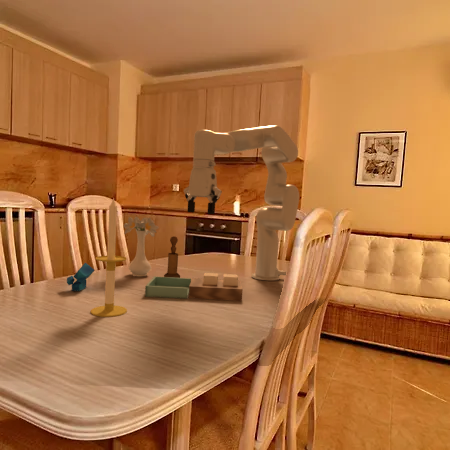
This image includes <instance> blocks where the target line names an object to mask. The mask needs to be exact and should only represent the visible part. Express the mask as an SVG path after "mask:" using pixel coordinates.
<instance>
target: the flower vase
mask: <svg viewBox="0 0 450 450" xmlns="http://www.w3.org/2000/svg"><path fill="white" fill-rule="evenodd" d="M127 222H128V223H127ZM127 222H126V223H123V228H124V229H125V231H124V233H123V234H124V235H126V234H127V233H131V231H132V230H133V229H135V232H136V235H137V238H136V239H137V243H136V254H135V255H134V256H135V257H134V258H133V259H132V260H131V262H130V263H129V265H128V271H130V272H131V274H132V276H133V277H139V278H140V277H147V276H148V273H150V271H151V270H152V265H151V263H150V262H149V260H148V259H147V257H146V253H145V245H146V244H145V243H146V236H147V235H150V236H151V237H155V233H157V230H159V229H160V227H159V226H158V225H156V224H155V221H154V220H153V219H152V218H151V217H142V218H141V220H140V218H139V217H138V216H135V217H134V218H133V217H131V216H128V219H127Z"/></svg>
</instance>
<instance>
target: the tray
mask: <svg viewBox="0 0 450 450" xmlns="http://www.w3.org/2000/svg"><path fill="white" fill-rule="evenodd" d="M191 280H192V278H190V277H187V278H186V277H180V278H174V277H164V276H152V278H151V279H150V280H149V281H148V283H146V285H145V289H144V290H145V291H144V297H149V298H150V297H152V298H167V299H169V298H170V299H188V298H189V286H190V283H191Z"/></svg>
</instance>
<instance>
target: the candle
mask: <svg viewBox="0 0 450 450" xmlns="http://www.w3.org/2000/svg"><path fill="white" fill-rule="evenodd" d="M117 217H118V206H117V205H116V202H115V198H114V197H113V199H112V200H111V204H110V205H109V206H108V231H107V232H108V233H107V251H106V252H107V253H106V254H107V255H100V256H99V255H98V256H95V260H96V261H98V262H104V263H106V264H105V287H104V288H105V289H104V291H105V293H104V305H100V306H96V307H94V308H92V309H91V310H90V314H91V315H93V316H95V317H101V318H114V317H119V316H122V315H125V314H126V313H127V312H128V309H127V308H126V307H124V306H121V305H115V285H116V263H118V262H124V261H126V260H127V257H126V256H122V255H116V243H117V242H116V241H117Z"/></svg>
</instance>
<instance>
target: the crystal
mask: <svg viewBox="0 0 450 450" xmlns="http://www.w3.org/2000/svg"><path fill="white" fill-rule="evenodd" d="M94 272H95V269H94V268H93V267H92V266H90V265H89V264H88V263H87V262H84V263H83V265H81V267H80V268H79V269H78V270H77V271H76V273H74V275H70V276H68V277H66V283H67V285H68V286H71V291H72V292H80V291H82V290H84V289H86V288H87V279H88V278H90V276H91V275H92V274H93V273H94Z"/></svg>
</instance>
